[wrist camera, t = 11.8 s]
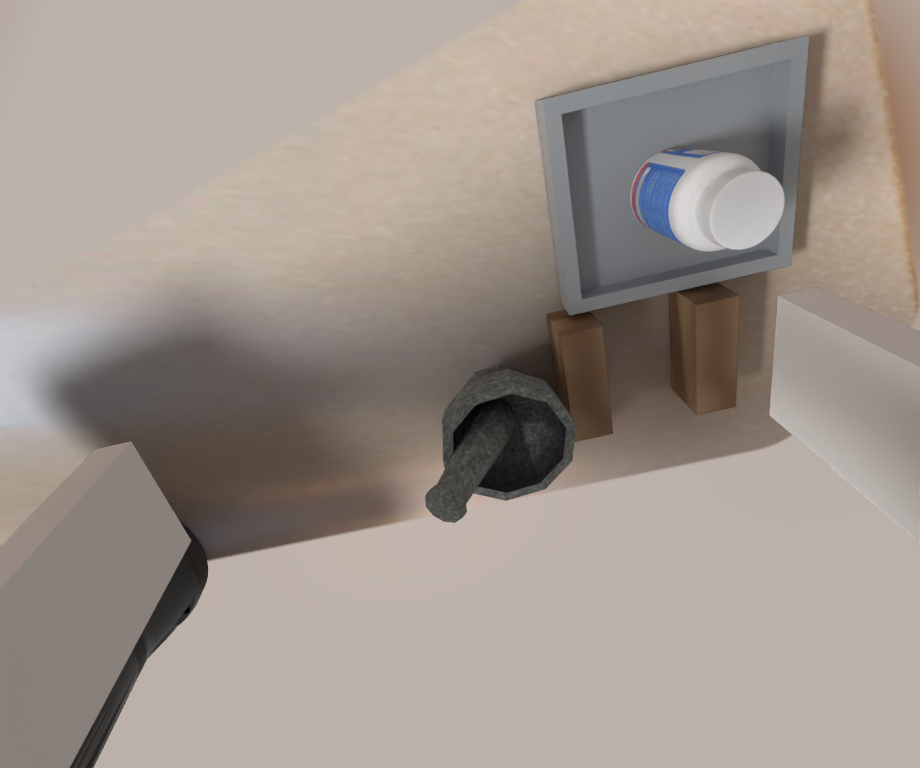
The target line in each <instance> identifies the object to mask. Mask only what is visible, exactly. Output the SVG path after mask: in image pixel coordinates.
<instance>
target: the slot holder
mask: <svg viewBox="0 0 920 768" xmlns="http://www.w3.org/2000/svg"><path fill="white" fill-rule="evenodd" d="M739 302H740V295H738V294H736V293H734V292H733V291H731V290H729V289H727V288H725V287H724V286H722V285H720V284H718V283H711V284H707V285H702V286H698V287H694V288H689V289H685V290H680V291H676V292H672V293H669V315H670V347H671V380H672V389H673V390H674V391H675V392H676V393H677V394H678V395H679V397H680V398H681V399H682V400H683V401H684V402H685V403H686V404H687V405H688V406H689V407H690V408H691V409H692V411H693V412H694V413H695V414H696V415H700V414H705V413H710V412H714V411H719V410H723V409H728V408H733V407H736V390H737V360H738V331H739ZM546 316H547V323H548V330H549V336H550V343H551V350H552V357H553V364H554V371H555V378H556V384H557V391H558V398H559V399H560V401H561V402H562V403H563V405H564V406H565V408H566V409H567V410H568V412H569V413H570V414H571V416H572V418H573V420H574V422H575V424H576V432H575V440H574V442H577V441H581V440H586V439H590V438H595V437H600V436H604V435H609V434H613V428H612V418H611V407H610V397H609V386H608V375H607V365H606V354H605V343H604V333H603V326H602V325H601V324H600V322H599V321H598V320H597V319H596V318H595V317H594V316H593V314H592V313H591V312H590V311H588V312H583V313H579V314H574V315H569V314H568V313H567V311H566V310H563V311H558V312H554V313H549V314H546Z"/></svg>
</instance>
